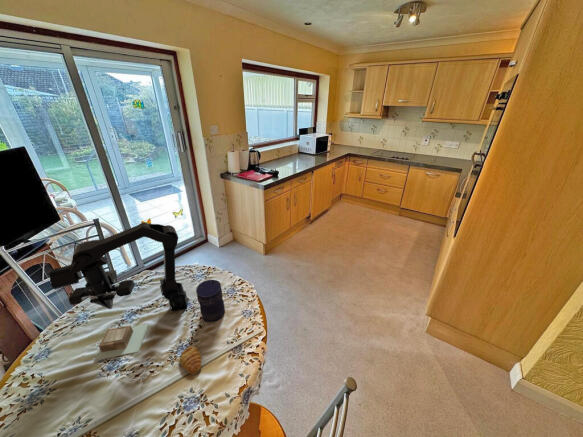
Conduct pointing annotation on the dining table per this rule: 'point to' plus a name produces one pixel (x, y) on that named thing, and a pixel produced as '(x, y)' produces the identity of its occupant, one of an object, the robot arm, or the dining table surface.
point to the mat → (132, 345)
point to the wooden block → (116, 338)
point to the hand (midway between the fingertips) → (111, 307)
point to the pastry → (191, 360)
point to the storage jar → (210, 300)
